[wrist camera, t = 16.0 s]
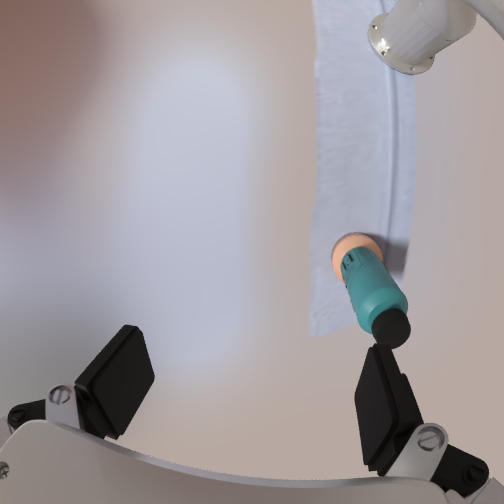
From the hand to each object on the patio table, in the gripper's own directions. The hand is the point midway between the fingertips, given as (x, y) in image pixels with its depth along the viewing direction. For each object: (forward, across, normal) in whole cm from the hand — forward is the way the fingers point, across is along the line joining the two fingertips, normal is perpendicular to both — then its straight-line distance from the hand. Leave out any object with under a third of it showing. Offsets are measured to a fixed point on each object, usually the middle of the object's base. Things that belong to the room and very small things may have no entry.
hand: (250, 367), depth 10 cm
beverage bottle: (+33, -12, +8) cm, 36 cm away
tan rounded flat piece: (+36, -13, +8) cm, 39 cm away
